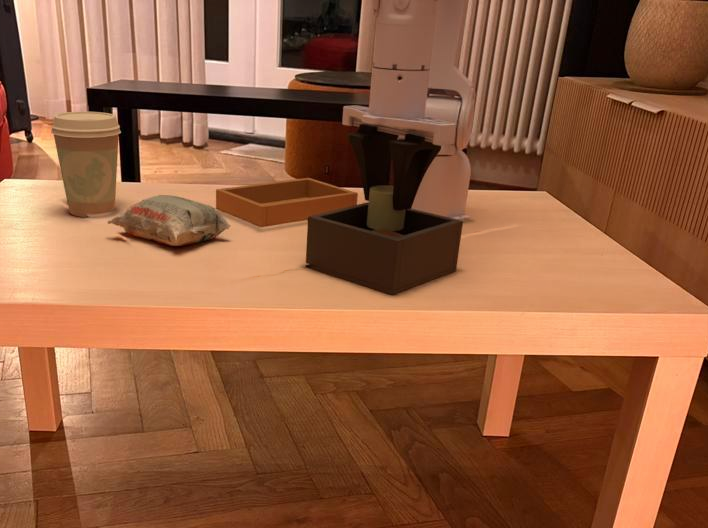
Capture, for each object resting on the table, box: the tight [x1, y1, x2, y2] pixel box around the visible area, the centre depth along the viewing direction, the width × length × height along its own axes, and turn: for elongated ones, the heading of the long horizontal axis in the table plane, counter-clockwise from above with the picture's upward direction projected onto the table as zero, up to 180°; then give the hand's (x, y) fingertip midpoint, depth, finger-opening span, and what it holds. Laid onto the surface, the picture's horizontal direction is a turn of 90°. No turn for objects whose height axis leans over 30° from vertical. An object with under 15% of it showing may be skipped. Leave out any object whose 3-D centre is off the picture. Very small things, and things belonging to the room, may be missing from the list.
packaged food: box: [107, 194, 231, 247], centre depth 89 cm, size 9×12×5 cm
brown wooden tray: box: [215, 177, 359, 228], centre depth 103 cm, size 16×11×3 cm
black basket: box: [305, 201, 464, 296], centre depth 82 cm, size 12×12×6 cm
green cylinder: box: [367, 184, 406, 231], centre depth 83 cm, size 4×4×4 cm
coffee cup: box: [50, 111, 122, 218], centre depth 98 cm, size 9×8×12 cm
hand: (387, 204), depth 83 cm, fingers closed on green cylinder, 4 cm apart
